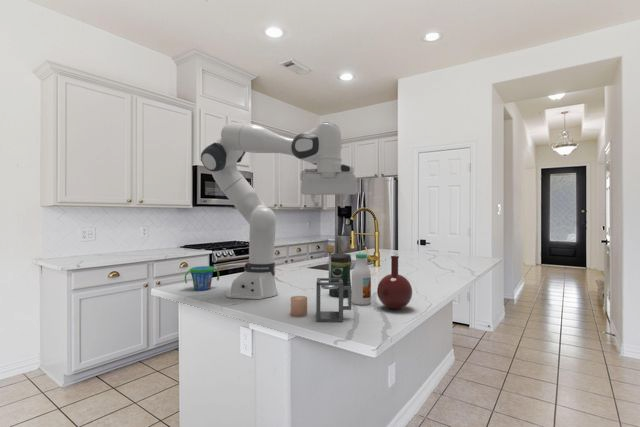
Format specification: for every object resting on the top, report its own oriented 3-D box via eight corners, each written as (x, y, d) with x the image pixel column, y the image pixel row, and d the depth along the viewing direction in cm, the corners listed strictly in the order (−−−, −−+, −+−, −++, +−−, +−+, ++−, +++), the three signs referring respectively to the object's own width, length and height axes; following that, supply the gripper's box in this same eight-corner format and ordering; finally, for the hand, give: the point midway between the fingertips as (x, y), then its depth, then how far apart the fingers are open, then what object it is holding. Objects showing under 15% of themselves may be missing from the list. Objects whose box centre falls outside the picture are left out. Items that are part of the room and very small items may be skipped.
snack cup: (184, 292, 163) (185, 270, 163) (184, 288, 172) (184, 266, 172) (220, 290, 169) (220, 268, 169) (217, 285, 178) (218, 265, 178)
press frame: (316, 321, 121) (316, 283, 121) (317, 314, 130) (317, 278, 130) (352, 322, 121) (352, 283, 121) (350, 314, 130) (350, 278, 130)
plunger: (320, 289, 122) (321, 246, 122) (321, 285, 128) (321, 244, 128) (338, 289, 122) (338, 246, 122) (338, 285, 128) (338, 244, 128)
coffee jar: (353, 294, 161) (354, 253, 161) (347, 298, 154) (347, 255, 154) (333, 292, 165) (334, 252, 165) (326, 296, 158) (326, 253, 158)
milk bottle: (355, 306, 141) (356, 255, 141) (348, 301, 149) (349, 253, 149) (373, 304, 144) (374, 254, 143) (366, 300, 151) (366, 252, 151)
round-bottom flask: (403, 315, 129) (403, 259, 129) (370, 309, 137) (371, 256, 137) (417, 307, 139) (417, 256, 139) (386, 302, 147) (386, 253, 147)
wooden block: (289, 316, 127) (289, 299, 127) (291, 312, 133) (291, 295, 133) (306, 316, 127) (306, 299, 126) (307, 312, 133) (307, 295, 132)
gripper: (298, 168, 126) (299, 207, 126) (357, 167, 124) (357, 207, 124) (301, 170, 132) (302, 207, 133) (357, 169, 130) (357, 207, 130)
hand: (329, 207), depth 128 cm, fingers open, 8 cm apart
